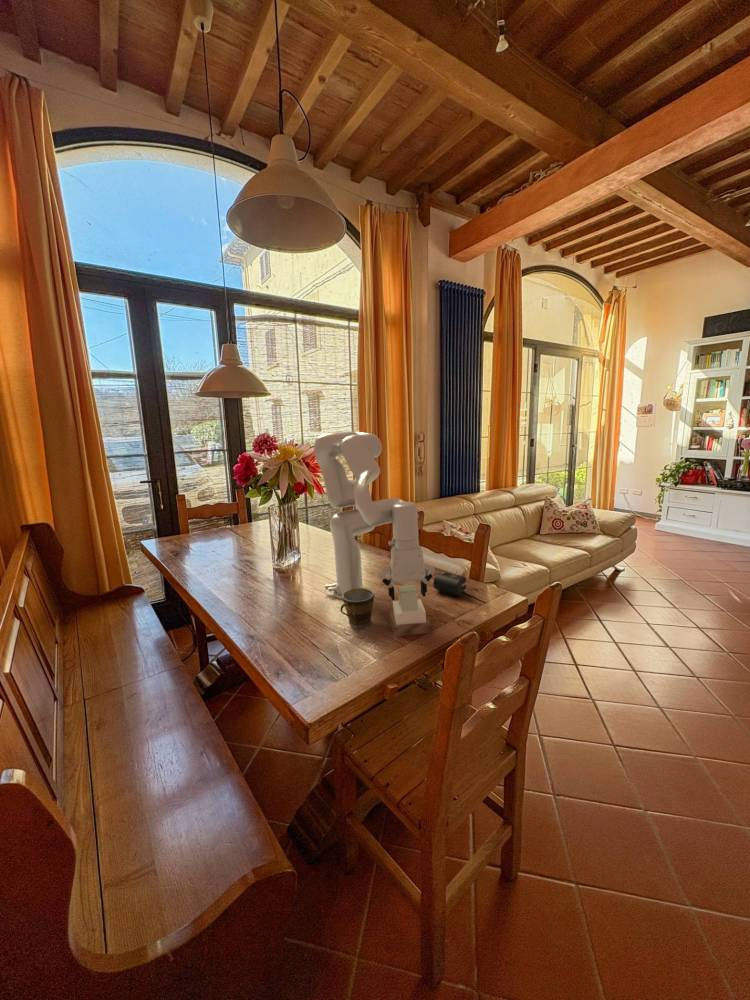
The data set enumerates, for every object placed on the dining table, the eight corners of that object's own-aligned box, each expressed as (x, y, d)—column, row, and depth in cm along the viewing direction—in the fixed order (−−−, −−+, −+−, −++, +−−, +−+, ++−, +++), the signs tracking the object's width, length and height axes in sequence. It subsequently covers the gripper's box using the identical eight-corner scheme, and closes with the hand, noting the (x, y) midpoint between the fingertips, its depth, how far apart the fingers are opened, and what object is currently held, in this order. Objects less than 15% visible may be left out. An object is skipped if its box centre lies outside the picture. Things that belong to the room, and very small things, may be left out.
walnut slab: (395, 638, 120) (394, 627, 120) (389, 620, 131) (388, 610, 131) (431, 634, 122) (430, 623, 121) (422, 617, 133) (421, 607, 132)
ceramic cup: (358, 613, 136) (356, 585, 134) (381, 621, 130) (380, 592, 128) (331, 629, 126) (328, 600, 124) (354, 639, 120) (352, 608, 118)
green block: (401, 611, 122) (400, 593, 121) (398, 603, 127) (398, 586, 126) (417, 609, 123) (417, 591, 121) (414, 602, 128) (413, 584, 126)
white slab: (396, 624, 121) (395, 614, 121) (393, 611, 130) (392, 601, 129) (426, 622, 122) (425, 611, 121) (420, 609, 131) (420, 598, 130)
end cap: (433, 593, 149) (432, 575, 148) (443, 586, 154) (443, 570, 153) (457, 600, 142) (456, 582, 141) (467, 593, 148) (467, 575, 146)
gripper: (379, 549, 116) (382, 605, 120) (437, 544, 118) (438, 598, 122) (375, 542, 124) (378, 594, 127) (430, 537, 126) (431, 588, 129)
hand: (407, 596), depth 124 cm, fingers open, 9 cm apart
